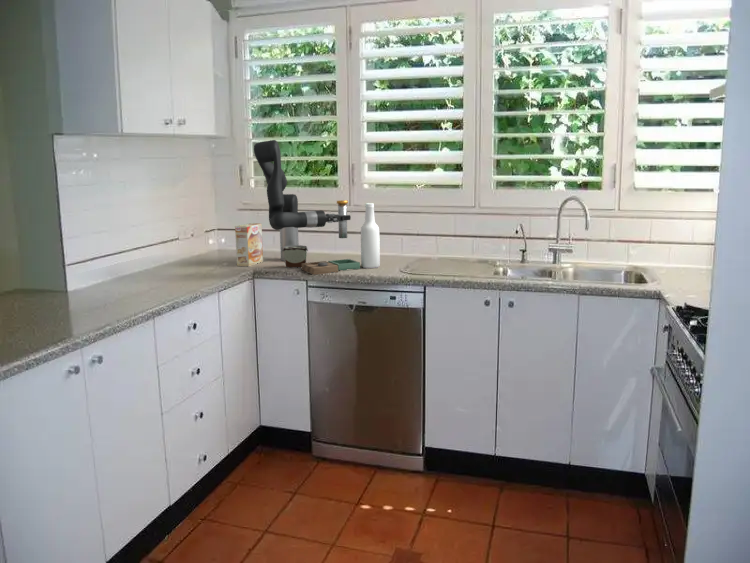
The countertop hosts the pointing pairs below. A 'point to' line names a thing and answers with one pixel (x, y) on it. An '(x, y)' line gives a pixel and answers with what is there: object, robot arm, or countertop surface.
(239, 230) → the coffeecake box
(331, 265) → the block
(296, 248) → the food container
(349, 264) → the tray
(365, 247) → the alcohol
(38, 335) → the countertop surface
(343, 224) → the pin
